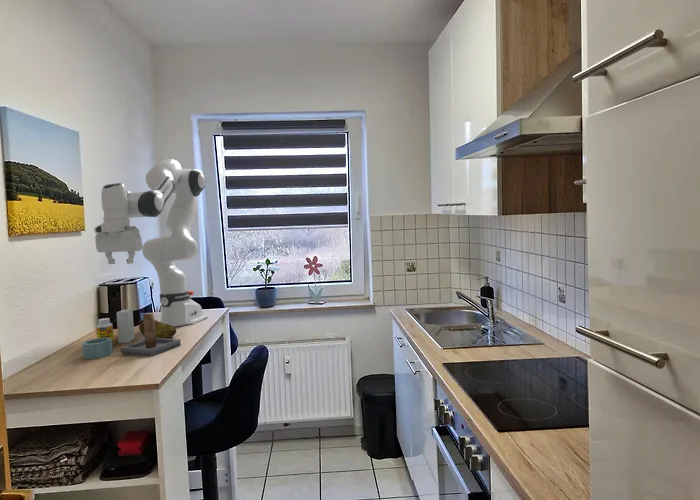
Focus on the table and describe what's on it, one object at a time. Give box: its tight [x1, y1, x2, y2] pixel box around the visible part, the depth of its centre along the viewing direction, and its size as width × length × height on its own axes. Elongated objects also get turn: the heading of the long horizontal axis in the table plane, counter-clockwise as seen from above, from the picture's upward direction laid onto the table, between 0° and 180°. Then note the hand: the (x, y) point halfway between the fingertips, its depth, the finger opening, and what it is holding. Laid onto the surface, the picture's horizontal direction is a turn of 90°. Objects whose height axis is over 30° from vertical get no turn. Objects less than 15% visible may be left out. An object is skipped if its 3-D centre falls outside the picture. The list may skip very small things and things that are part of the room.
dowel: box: [142, 312, 157, 348], centre depth 176 cm, size 4×4×12 cm
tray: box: [120, 338, 182, 357], centre depth 177 cm, size 14×14×2 cm
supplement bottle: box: [95, 317, 115, 346], centre depth 187 cm, size 6×6×10 cm
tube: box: [81, 338, 114, 360], centre depth 174 cm, size 9×9×5 cm
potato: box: [138, 319, 177, 339], centre depth 193 cm, size 8×13×8 cm, turn 94°
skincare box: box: [116, 308, 135, 344], centre depth 192 cm, size 6×4×12 cm
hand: (121, 263), depth 185 cm, fingers open, 8 cm apart
